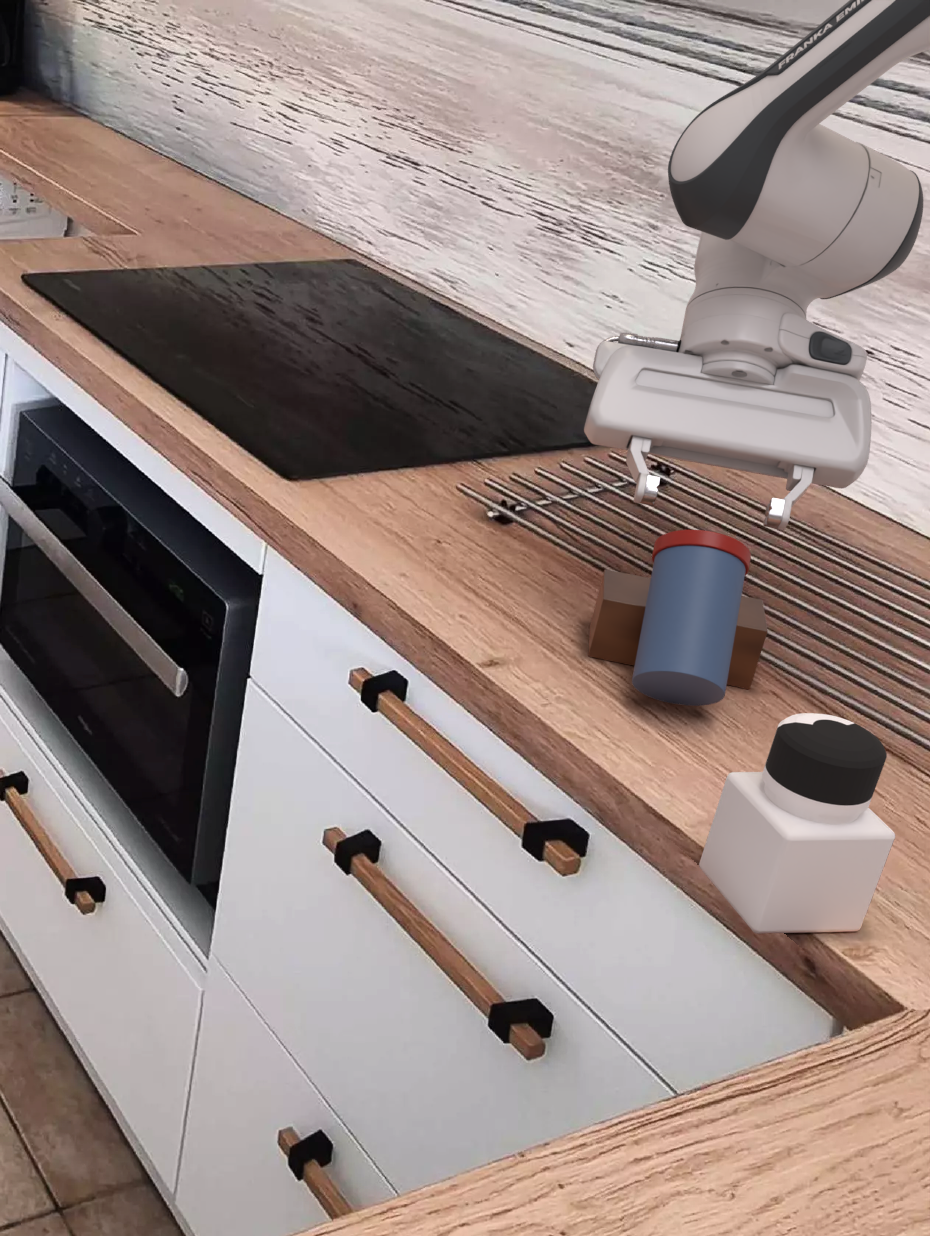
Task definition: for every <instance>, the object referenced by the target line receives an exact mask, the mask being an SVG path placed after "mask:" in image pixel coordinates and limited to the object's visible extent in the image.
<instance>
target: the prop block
mask: <svg viewBox="0 0 930 1236" xmlns="http://www.w3.org/2000/svg"><path fill="white" fill-rule="evenodd" d="M650 580H651V577H647V576H641V575H636V574H633V573H632V574H631V573H626V572H621V571H616V570H611V569H604V570H603V573H602V577H601V581H600V585H599V589H598V593H597V596H596V601H595V604H594V608H593V612H592V616H591V620H590V624H589V634H588V637H589V638H588V655H587V656H588V657H590V658H595V659H599V660H604V661H608V662H609V661H610V662H615V663H619V664H624V665H630V666H633V667H634V666H635V661H636V656H637V650H638V645H639V639H640V634H641V629H642V623H643V618H644V612H645V607H646V602H647V596H648V591H649V585H650ZM768 632H769V631H768V624H767V619H766V611H765V605H764V600H763V599H759V598H755V597H750V596H744V595H742V596H741V602H740V608H739V614H738V620H737V626H736V631H735V637H734V643H733V649H732V655H731V661H730V667H729V673H728V679H727V685H726V686H732V687H735V688H740V689H741V688H742V689H746V690H750V689H751V686H752V683H753V680H754V676H755V673H756V671H757V667H758V663H759V662H760V661H759V660H760V658H761V654H762V651H763V648H764V645H765V642H766V638H767V635H768Z"/></svg>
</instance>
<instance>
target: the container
mask: <svg viewBox="0 0 930 1236" xmlns="http://www.w3.org/2000/svg"><path fill="white" fill-rule="evenodd" d="M751 558H752V553H751V551H750V549H749V547H748V546H747V545H746V544H744V543H743V542H742V541H740V540H738V539H736V538H734V537H732V536H729V535H726V534H724V533H720V532H716V531H711V530H703V529H679V530H673V531H669V532H666V533H663V534H662V535H660V536H659V537H657V538H656V540H655V542H654V544H653V549H652V555H651V561H652V563H653V565H652V570H651V576H650V578H651V580H650V585H649V591H648V596H647V602H646V607H645V612H644V618H643V623H642V629H641V634H640V639H639V645H638V650H637V656H636V661H635V666H633V673H632V678H631V684H632V686H633V688H634V689H636V690H637V691H638V692H639V693H641V694H642V695H645V696H647V697H648V698H651V699H654V700H656V701H660V702H664V703H667V704H674V705H679V706H690V707H691V706H694V707H695V706H696V707H697V706H698V707H699V706H700V707H701V706H709V705H713V704H717V703H719V702H721V701H722V700H724V698H725V696H726V690H727V686H728V685H727V679H728V673H729V667H730V661H731V655H732V649H733V643H734V637H735V631H736V626H737V620H738V614H739V608H740V602H741V596H743V589H744V583H745V577H746V576H747V574H748V573H749V571H750V564H751V560H752V559H751Z"/></svg>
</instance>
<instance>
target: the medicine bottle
mask: <svg viewBox="0 0 930 1236" xmlns="http://www.w3.org/2000/svg"><path fill="white" fill-rule="evenodd" d="M887 754H888V753H887V751H886V749H885V747H884V744H883V743H882V741H881V740H880V739H879V738H878V737H877V736H876V735H875V734H873V733H872V732H871V731H870V730H868V729H866V728H864V727H863V726H861V725H859V724H857V723H855V722H854V721H851V720H849V719H846V718H843V717H840V716H836V715H831V714H826V713H813V712H802V713H801V712H800V713H795V714H792V715H789V716H787V717H786V718H784V719H782V720H781V721H780V722H779V723H778V725H777V727H776V730H775V733H774V737H773V740H772V743H771V746H770V749H769V752H768V755H767V758H766V760H765V764H764V767H763V769H762V771H732V772H729V773H728V774H727V776H726V778H725V781H724V784H723V787H722V791H721V793H720V797H719V799H718V800H719V801H718V803H717V805H716V810H715V813H714V816H713V818H712V822H711V825H710V828H709V830H708V835H707V838H706V841H705V844H704V847H703V851H702V852H701V857H700V860H699V863H698V866H699V869H700V870H701V871H702V873H703V874H704V876H706V877H707V878H708V880H709V881H710V882H711V884H713V885H714V887H715V888H716V889H717V890H718V892H719V893H720V894H721V895H722V897H724V899H725V900H726V901H727V903H728V904H729V905H730V906H731V907H732V908H733V910H734V911H735V912H736V913H737V914H738V915H739V917H740V918H741V919H742V920H743V921H744V923H745V924H746V925H747V926H748V927H749V929H750V930H751V931H752V932H753V933H754V934H757V935H759V934H793V933H794V934H795V933H798V934H799V933H800V934H801V933H838V932H842V933H843V932H858V931H860V929H861V928H862V926H863V924H864V921H865V919H866V916H867V913H868V911H869V908H870V905H871V903H872V900H873V896H874V894H875V892H876V889H877V887H878V884H879V881H880V879H881V876H882V874H883V871H884V868H885V865H886V863H887V860H888V858H889V855H890V852H891V850H892V847H893V844H894V842H895V839H896V833H895V832H894V831H893V829H892V828H890V826H888V825H887V824H886V823H885V822H884V820H883V819H881V818H880V816H878V815H877V814H876V813H875V812H874V811H873V810H872V809H871V808H870V804H871V802H872V799H873V796H874V793H875V790H876V787H877V785H878V782H879V780H880V778H881V775H882V772H883V768H884V766H885V764H886V761H887V758H888V755H887Z"/></svg>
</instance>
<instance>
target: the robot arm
mask: <svg viewBox="0 0 930 1236" xmlns="http://www.w3.org/2000/svg"><path fill="white" fill-rule="evenodd" d="M927 51H930V0H848V1H847V2H846V3H844V4H843V5H842V6H841V7H840V8H838V9H837V10H836V11H835V12H833V13H832V14H831V15H830V16H828V17H827V18H826V19H825V20H823V22H821V23H820V24H818V25H817V26H816V27H815V28H814V29H812V30H811V31H810V32H809V33H808V34H807V35H805V36H804V37H803V38H801V40H799V41H798V42H797V43H796V44H794V45H793V46H792V47H791V48H790V49H788V50H787V51H785V52H784V53H783V54H782V55H781V56H780V57H778V58H777V59H776V60H774V62H772V63H771V64H770V65H769V66H767V67H766V68H764V69H763V70H762V71H761V72H759V73H758V74H757V75H754V77H753V78H750V80H747V81H746V82H744V83H743V84H741V85H740V86H738V87H736V88H734V89H733V90H731V91H729V92H727V93H726V94H725V95H723V96H721V97H719V98H717V100H715V101H713V102H712V103H710V104H709V105H708V106H706V107H705V108H704V109H703V110H701V111H700V112H699V113H697V115H696V116H695V117H694V118H693V119H692V120H691V121H690V122H689V123H688V125H686V127H685V128H684V130H683V132H682V133H681V134H680V136H679V137H678V139H677V141H676V142H675V144H674V147H673V149H672V150H671V151H672V152H671V154H670V155H669V159H668V165H667V176H668V177H667V179H668V186H669V191H670V195H671V199H672V202H673V206H674V207H675V210H676V212H677V215H678V217H679V218H680V220H681V223H682V224H684V225H685V226H686V227H688V228H691V229H694V230H697V231H700V236H699V240H698V245H697V249H696V254H695V259H694V265H693V266H694V267H693V268H694V269H693V271H694V278H695V286H694V291H693V293H692V295H691V296H690V298H689V300H688V301H687V304H686V307H685V311H684V317H683V323H682V327H681V332H680V336H679V340H677V339H670V338H664V337H659V336H658V337H655V336H644V335H640V334H638V333H634V332H620V333H619V335H615V336H610V337H607V338H605V339H603V340H602V341H601V342H600V343H599V344H598V345H597V347H596V349H595V353H594V359H593V363H592V371H593V375H594V376H595V378H596V379H597V381H598V382H597V384H596V388H595V390H594V393H593V395H592V398H591V401H590V403H589V404H590V405H589V407H588V411H587V415H586V419H585V422H584V426H583V432H584V434H585V436H586V437H587V439H588V441H589V442H590V443H591V444H592V445H596V446H600V447H607V448H611V449H619V450H623V451H627V453H626V459H625V463H626V466H627V468H628V470H629V472H630V475H631V476H632V480H633V481H634V483H635V484H636V485H635V489H634V494H633V503H635V504H641V505H646V506H651V507H652V506H654V505H655V502H656V500H657V497H658V493H659V487H660V482H661V476H656V475H652V474H650V471H649V468H648V467H647V464H646V461H647V458H648V456H649V455H651V456H657V457H662V458H668V459H673V460H678V461H685V462H690V463H694V464H695V463H697V464H701V465H706V466H712V467H719V468H722V469H723V468H724V469H730V470H736V471H741V472H746V473H752V474H758V475H761V476H768V477H773V478H779V479H780V478H781V479H785V480H786V484H785V490H786V491H789V492H788V493H787V495H785V497H783V498H778V497H771V499H770V500H769V503H768V504H767V505H766V507H765V513H764V516H765V517H764V520H763V523H762V524H763V527H766V528H769V529H770V528H771V529H775V530H780V531H785V530H786V528H787V526H788V524H789V522H790V517H791V512H792V508H793V507H794V506H795V505H796V504H797V503H798V501H800V499H801V498H802V497H803V496H804V495H805V494H806V493H807V491H808V489H809V488H810V486H811V485H819V486H822V487H823V486H825V487H829V488H835V489H846V488H847V487H849V486H851V485H852V484H853V483H854V482H856V481H857V480H858V479H859V478H860V477H861V476H862V474H863V472H864V471H865V469H866V467H867V465H868V462H869V458H870V453H871V442H872V418H873V417H872V401H871V397H870V396H871V395H870V393H869V391H868V389H867V387H866V386H865V385H864V383H863V382H862V381H860V380H861V378H862V377H863V374H864V371H865V369H866V368H865V367H866V364H867V361H868V360H867V359H868V354H867V351H866V349H865V348H864V347H862V346H861V345H859V344H857V343H855V342H852V341H851V340H849V339H846V338H844V337H842V336H839V335H837V334H835V333H833V332H830V331H828V330H827V329H824V328H822V327H820V326H818V325H817V324H815V323H813V322H811V321H809V320H808V319H807V310H808V308H809V306H810V304H811V303H812V302H814V301H815V300H817V299H820V300H829V299H833V298H837V297H839V296H843V295H845V294H849V293H851V292H853V291H857V290H858V289H861V288H864V287H867V286H869V285H871V284H873V283H876V282H878V281H880V280H882V279H884V278H885V277H888V276H889V275H890V274H893V273H894V272H895V271H896V270H898V269H899V268H900V267H901V266H902V265H903V264H904V263H905V261H906V260H907V258H908V257H909V255H910V254H911V252H912V250H913V248H914V246H915V243H916V241H917V239H918V235H919V232H920V228H921V224H922V220H923V213H924V192H923V188H922V184H921V183H922V182H921V181H920V178H919V176H918V174H917V173H916V172H914V170H911V169H909V168H908V167H906V166H905V165H903V164H902V163H900V162H898V161H896V160H895V159H892V158H890V157H888V156H886V155H885V154H884V153H883V154H882V153H881V152H879V151H877V150H875V149H873V148H871V147H869V146H868V145H865V144H864V143H861V142H858V141H854V140H852V139H851V138H849V137H846V136H844V135H842V134H840V133H839V132H836V131H835V130H832V129H831V128H829V127H826V126H824V125H823V124H821V123H822V122H824V121H825V120H827V118H829V117H830V116H831V115H832V114H834V113H835V112H836V111H838V110H839V109H840V108H841V107H843V106H844V105H846V104H847V103H848V102H849V101H851V100H852V99H853V98H854V97H856V96H857V95H859V94H860V93H861V92H863V91H864V90H865V89H866V88H868V87H869V86H870V85H871V84H873V83H874V82H875V81H877V80H878V79H879V78H880V77H882V76H883V75H884V74H885V73H887V72H888V71H890V70H891V69H892V68H893V67H894V66H895V67H896V65H898V64H899V63H901V62H903V61H905V60H907V59H909V58H911V57H914V56H916V55H918V54H921V53H924V52H927Z"/></svg>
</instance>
